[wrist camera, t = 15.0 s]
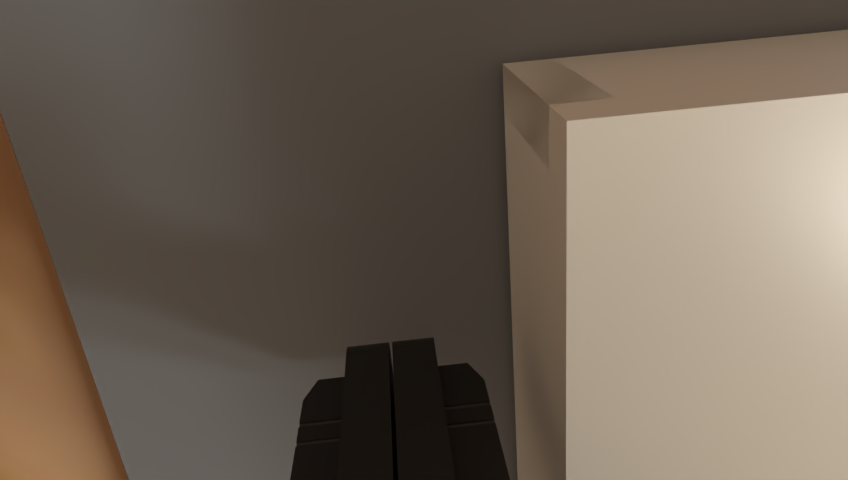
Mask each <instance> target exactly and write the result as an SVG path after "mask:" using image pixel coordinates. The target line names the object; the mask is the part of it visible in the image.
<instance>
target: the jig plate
mask: <svg viewBox="0 0 848 480" xmlns="http://www.w3.org/2000/svg"><path fill="white" fill-rule="evenodd" d="M839 30H848V0H0V113H1V116H2V118H3V121H4V124H5V127H6V130H7V133H8V136H9V138H10V141H11V144H12V147H13V150H14V153H15V156H16V158H17V161H18V164H19V167H20V170H21V173H22V176H23V178H24V181H25V184H26V187H27V190H28V193H29V196H30V199H31V201H32V204H33V207H34V210H35V213H36V216H37V219H38V221H39V224H40V227H41V230H42V233H43V236H44V239H45V241H46V244H47V247H48V250H49V253H50V256H51V259H52V261H53V264H54V267H55V270H56V273H57V276H58V279H59V281H60V284H61V287H62V290H63V293H64V296H65V299H66V302H67V304H68V307H69V310H70V313H71V316H72V319H73V322H74V324H75V327H76V330H77V333H78V336H79V339H80V342H81V344H82V347H83V350H84V353H85V356H86V359H87V362H88V364H89V367H90V370H91V373H92V376H93V379H94V382H95V385H96V387H97V390H98V393H99V396H100V399H101V402H102V405H103V407H104V410H105V413H106V416H107V419H108V422H109V425H110V427H111V430H112V433H113V436H114V439H115V442H116V445H117V447H118V450H119V453H120V456H121V459H122V462H123V465H124V467H125V470H126V473H127V476H128V479H129V480H290V477H291V471H292V465H293V459H294V452H295V447H296V446H297V444H296V440H297V434H298V428H299V427H300V425H299V421H300V415H301V409H302V403H303V400H304V398H305V397H306V396H307V394H308V393H309V392H310V390H311V389H312V388H313V386H314V385H315V384H316V382H317V381H318V380H320V379H329V378H337V377H345V363H346V350H347V347H350V346H359V345H368V344H377V343H386V342H389V345H390V351H391V359H392V366H393V352H392V342H394V341H403V340H412V339H421V338H430V337H434V343H435V349H436V356H437V362H438V366H443V365H452V364H460V363H468V364H469V365H470V366H471V367H472V368H473V369H474V370H475V371H476V372H477V373H478V374H479V375H480V376H481V377H482V378H483V379H484V380H485V384H486V388H487V392H488V396H489V399H490V405H491V407H492V411H493V415H494V419H495V423H496V427H497V430H498V434H499V438H500V442H501V446H502V450H503V454H504V458H505V461H506V465H507V469H508V473H509V477H510V480H518V475H517V447H516V420H515V392H514V365H513V338H512V310H511V283H510V255H509V228H508V201H507V173H506V146H505V118H504V91H503V63H513V62H523V61H534V60H544V59H554V58H564V57H574V56H585V55H595V54H605V53H615V52H625V51H635V50H646V49H656V48H666V47H676V46H686V45H697V44H707V43H717V42H727V41H737V40H747V39H758V38H768V37H778V36H788V35H798V34H809V33H819V32H829V31H839Z"/></svg>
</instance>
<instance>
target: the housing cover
mask: <svg viewBox="0 0 848 480" xmlns="http://www.w3.org/2000/svg"><path fill="white" fill-rule="evenodd" d="M503 91H504V118H505V146H506V173H507V201H508V228H509V255H510V283H511V310H512V338H513V365H514V392H515V420H516V447H517V475H518V480H848V30H839V31H829V32H819V33H809V34H798V35H788V36H778V37H768V38H758V39H747V40H737V41H727V42H717V43H707V44H697V45H686V46H676V47H666V48H656V49H646V50H635V51H625V52H615V53H605V54H595V55H585V56H574V57H564V58H554V59H544V60H534V61H523V62H513V63H503Z"/></svg>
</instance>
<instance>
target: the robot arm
mask: <svg viewBox="0 0 848 480" xmlns="http://www.w3.org/2000/svg"><path fill="white" fill-rule="evenodd" d="M392 352H393V366H392V359H391V351H390V345H389V342H386V343H377V344H368V345H359V346H350V347H347V350H346V363H345V377H337V378H329V379H320V380H318V381H317V382H316V384H315V385H314V386H313V388H312V389H311V390H310V392H309V393H308V394H307V396H306V397H305V398H304V400H303V403H302V409H301V415H300V421H299V425H300V427H299V428H298V434H297V440H296V444H297V446H296V447H295V452H294V459H293V465H292V471H291V477H290V480H510V477H509V473H508V469H507V465H506V461H505V458H504V454H503V450H502V446H501V442H500V438H499V434H498V430H497V427H496V423H495V419H494V415H493V411H492V407H491V405H490V399H489V396H488V392H487V388H486V384H485V380H484V379H483V378H482V377H481V376H480V375H479V374H478V373H477V372H476V371H475V370H474V369H473V368H472V367H471V366H470V365H469V364H468V363H460V364H452V365H443V366H438V362H437V356H436V349H435V343H434V337H430V338H421V339H412V340H403V341H394V342H392Z"/></svg>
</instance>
